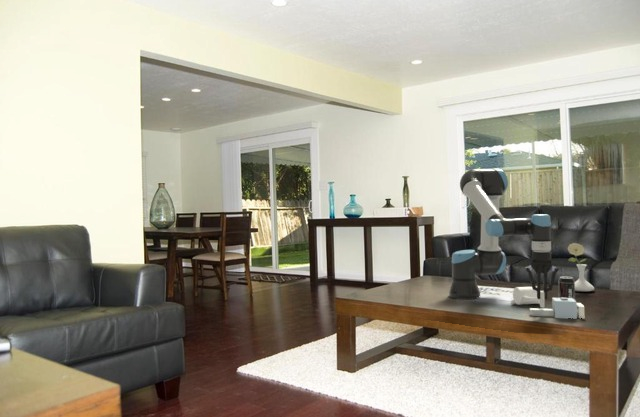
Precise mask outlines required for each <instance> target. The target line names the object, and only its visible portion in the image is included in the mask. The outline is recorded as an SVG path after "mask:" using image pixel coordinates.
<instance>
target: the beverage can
mask: <svg viewBox="0 0 640 417" xmlns="http://www.w3.org/2000/svg"><path fill="white" fill-rule="evenodd" d="M575 282H576V281H575V279H574V277H573V276H567V275H566V276H565V275H563V276H559V278H558V283H557V284H558V298H560V297H564V298H573V299H574V300H575V301H576V291H575Z"/></svg>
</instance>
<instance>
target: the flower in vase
mask: <svg viewBox="0 0 640 417" xmlns="http://www.w3.org/2000/svg"><path fill="white" fill-rule="evenodd" d="M567 250H568V252H569V254H570V255H574V256H575V257H570V258H568V259H567V261H568V262H573V263H574V262H577V264H576V265H575V266H576V267H577V269H578V273H579V274H578V279H577V280H576V281H575V292H583V293H584V292H585V293H587V292H588V293H589V292H592V291H594V290H595V286H593V285H592V284H591V283H590V282H589V281H587V280H586V278H585V269H586V267H587V266H588V264H583V263H582V262H585V261H586V260H587V258H584V259H580V261H579V260H578V259H577V257H578V256H581V255H583V254H584V253H585V248H584V246H583V245H582V244H580V243H576V242H573V243H570V244H569V245H568V247H567Z"/></svg>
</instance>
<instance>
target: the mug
mask: <svg viewBox="0 0 640 417" xmlns="http://www.w3.org/2000/svg"><path fill="white" fill-rule="evenodd" d="M512 297H513V301H514V303H515V305H518V306H519V305H522V306H523V305H540V299H538V298H537V291H536V290H533V289H532V286H516V287H514V288H513V290H512Z"/></svg>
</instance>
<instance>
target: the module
mask: <svg viewBox="0 0 640 417" xmlns="http://www.w3.org/2000/svg"><path fill="white" fill-rule="evenodd" d="M551 300H552V301H551V306H552V308H551V309H554V310H555V317H554V318H555V319H568V318H571V319H572V318H573V319H572V320H574V319H575V320H577V319H578V317H577V305H576V303H577V301H576V299H575V300H574V299H573V298H564V297H560V298H559V297H551ZM571 319H570V320H571Z"/></svg>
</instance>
